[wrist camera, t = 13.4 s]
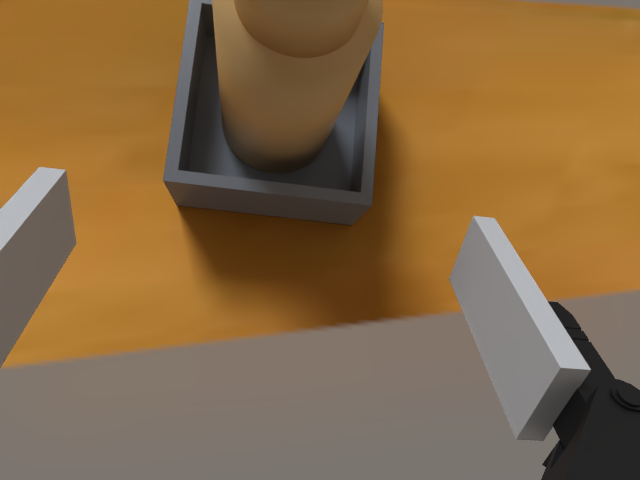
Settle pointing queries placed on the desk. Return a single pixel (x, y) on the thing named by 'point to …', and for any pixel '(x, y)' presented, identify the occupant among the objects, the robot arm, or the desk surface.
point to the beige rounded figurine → (288, 73)
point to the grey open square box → (254, 185)
